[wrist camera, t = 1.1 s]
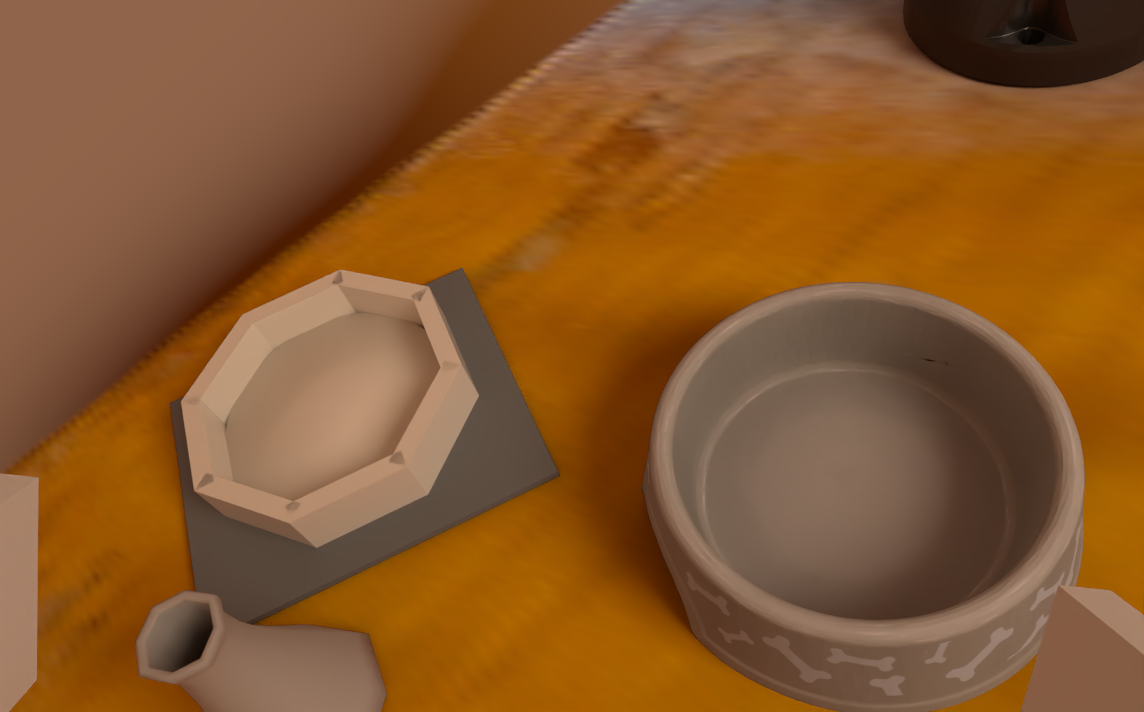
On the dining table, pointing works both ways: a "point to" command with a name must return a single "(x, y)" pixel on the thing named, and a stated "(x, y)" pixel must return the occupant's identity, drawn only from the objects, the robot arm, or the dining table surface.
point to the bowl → (328, 407)
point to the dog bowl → (866, 497)
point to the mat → (460, 492)
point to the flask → (256, 661)
